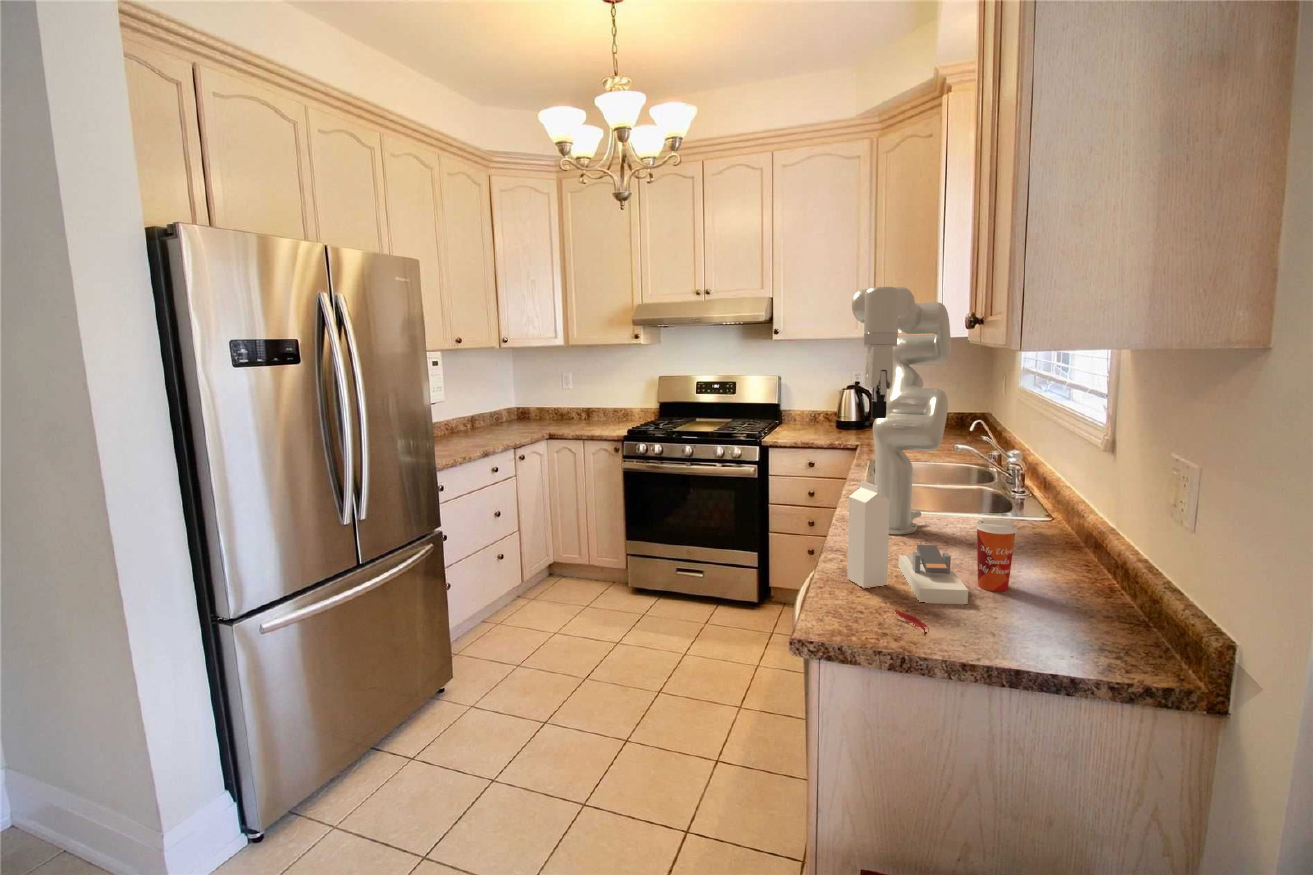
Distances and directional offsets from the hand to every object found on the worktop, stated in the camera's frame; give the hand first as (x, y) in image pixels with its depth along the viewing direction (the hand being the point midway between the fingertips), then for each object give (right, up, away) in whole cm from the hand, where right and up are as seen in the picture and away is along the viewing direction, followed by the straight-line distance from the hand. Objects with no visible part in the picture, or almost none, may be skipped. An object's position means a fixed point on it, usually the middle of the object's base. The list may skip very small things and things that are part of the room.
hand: (878, 417), depth 157 cm
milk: (-8, -36, -16) cm, 40 cm away
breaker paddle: (+5, -30, -19) cm, 36 cm away
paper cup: (+17, -36, -20) cm, 45 cm away
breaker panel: (+5, -36, -18) cm, 41 cm away
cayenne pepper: (-6, -40, -35) cm, 53 cm away
